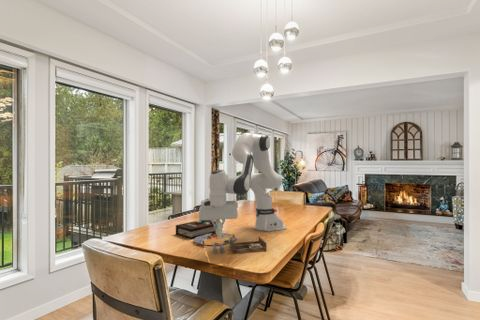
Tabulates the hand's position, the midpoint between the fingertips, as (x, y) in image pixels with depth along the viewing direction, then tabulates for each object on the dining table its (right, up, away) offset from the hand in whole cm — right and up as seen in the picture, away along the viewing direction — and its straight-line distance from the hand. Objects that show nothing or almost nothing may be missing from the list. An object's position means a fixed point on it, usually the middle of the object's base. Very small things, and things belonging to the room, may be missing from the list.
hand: (218, 228), depth 142 cm
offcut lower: (+20, -12, +2) cm, 23 cm away
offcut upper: (+19, -10, +2) cm, 22 cm away
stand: (0, -13, 0) cm, 13 cm away
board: (0, -3, -1) cm, 3 cm away
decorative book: (-16, -14, +41) cm, 47 cm away
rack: (+15, -13, +3) cm, 20 cm away
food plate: (-4, -14, +22) cm, 26 cm away
